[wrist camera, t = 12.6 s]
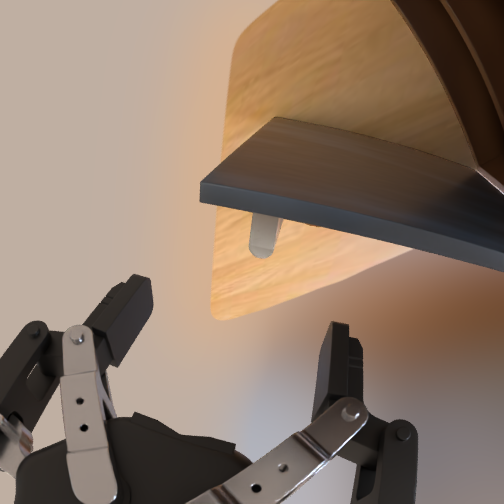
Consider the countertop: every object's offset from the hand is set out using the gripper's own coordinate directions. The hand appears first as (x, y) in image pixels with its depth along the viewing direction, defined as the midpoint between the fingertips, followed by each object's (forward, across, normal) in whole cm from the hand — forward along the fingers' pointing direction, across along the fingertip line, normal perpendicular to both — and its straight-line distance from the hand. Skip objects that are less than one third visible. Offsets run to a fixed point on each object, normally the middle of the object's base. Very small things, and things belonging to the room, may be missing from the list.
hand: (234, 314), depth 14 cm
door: (+29, -10, 0) cm, 31 cm away
